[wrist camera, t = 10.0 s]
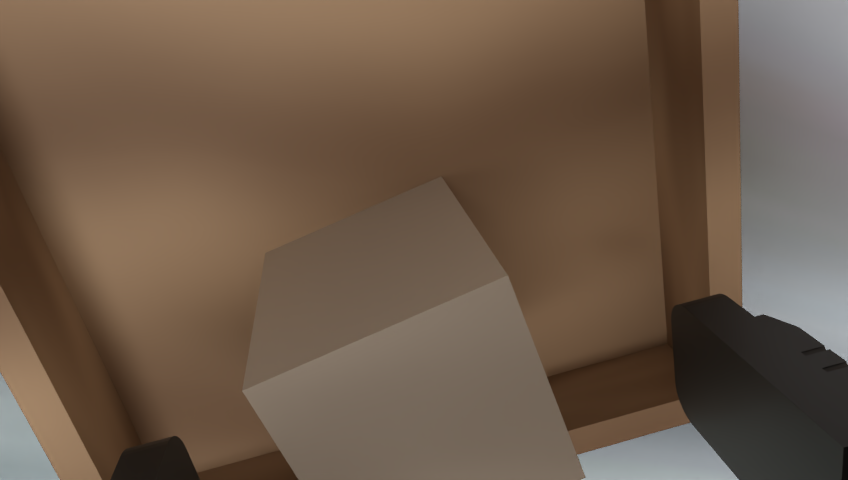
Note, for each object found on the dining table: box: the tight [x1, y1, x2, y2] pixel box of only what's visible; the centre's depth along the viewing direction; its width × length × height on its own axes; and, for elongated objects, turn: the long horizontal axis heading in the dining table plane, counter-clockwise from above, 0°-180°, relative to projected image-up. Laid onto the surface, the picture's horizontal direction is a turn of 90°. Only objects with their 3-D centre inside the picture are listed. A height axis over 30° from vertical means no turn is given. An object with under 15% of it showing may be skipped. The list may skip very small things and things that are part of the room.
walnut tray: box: [0, 0, 742, 480], centre depth 12 cm, size 16×14×3 cm
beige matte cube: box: [242, 176, 585, 480], centre depth 12 cm, size 4×4×5 cm
